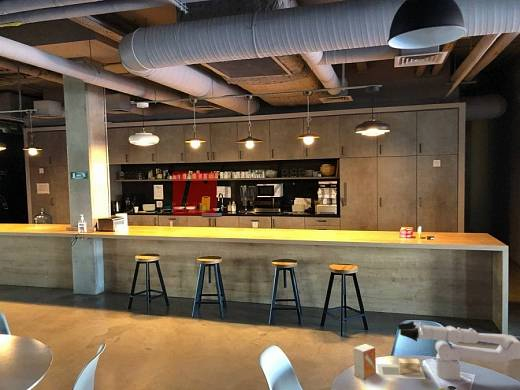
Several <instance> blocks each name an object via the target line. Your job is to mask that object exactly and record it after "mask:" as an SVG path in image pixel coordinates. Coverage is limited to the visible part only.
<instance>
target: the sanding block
mask: <svg viewBox="0 0 520 390" xmlns="http://www.w3.org/2000/svg"><path fill="white" fill-rule="evenodd" d="M397 363H398V364H397V365H398V367H399V372H400V374H421V372H420V366H421V362H420V360H419V358H404V357H403V358H397Z"/></svg>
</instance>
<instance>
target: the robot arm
mask: <svg viewBox="0 0 520 390" xmlns="http://www.w3.org/2000/svg"><path fill="white" fill-rule="evenodd" d="M397 325H398V326H397V329H398V330H400V332H399V333H400V336H403V337H406V338H409V339H411V340H413V341H415V342H417V341H418V340H424V339H427V340H435V341H436V340H437V341H436V342H435V344H434V349H435V351H436V352H437V353H436V356H435V363H436V367H435V368H436V376H437V378H440V379H443V380H459V381H460V380H461V366H460V360H459V359H465V360H476V361H484V362H495V363H506V362H509V361H511V360H514V359H517V360H518V359H520V340H518V338H516V336H514V335H512V334H507V333H481V332H477V331H476V330H475V329H473V328H471V327H469V328H468V329H467V328H461V327H457V328H456V327H454V326H452V325H447V326H436V325H435V326H434V325H428V324H427V325H425V324H422V322H420V321H419V322H418V323H415V322H414V320H411V321H409V322H405V323H404V322H403V323H398V324H397ZM478 342H482V343H488V344H497V345H498V347H497V348H494V349H493V348H487V347H477V346H476V347H475V346H467V345H458V343H466V344H476V343H478Z"/></svg>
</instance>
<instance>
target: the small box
mask: <svg viewBox="0 0 520 390" xmlns="http://www.w3.org/2000/svg"><path fill="white" fill-rule="evenodd" d="M376 361H377V359H376V347H375V346H373V345H370V344H367V343H364V344H361V345H357V346H355V347H353V367H354V368H353V371H354V376H356V377H358V378H360V379H362V380H366V379H367V378H368V377H369V376H372V375H374V374H376V373H377V367H376V366H377V364H376Z"/></svg>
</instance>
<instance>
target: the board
mask: <svg viewBox="0 0 520 390" xmlns="http://www.w3.org/2000/svg"><path fill="white" fill-rule="evenodd" d="M376 366H377V367H376V368H377V372H378V376H379V377H378V378H381V379H383V378H385V379H386V378H387V379H390V378H391V379H414V380H427V377H426V376H425V373H424V370H423V368H422V366H421V365H420V372H421V374H400V372H399V367H398V364H387V363H385V364H384V363H383V364H382V363H377V364H376Z"/></svg>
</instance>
